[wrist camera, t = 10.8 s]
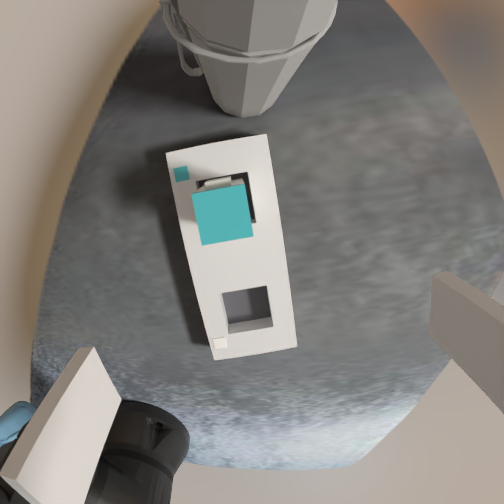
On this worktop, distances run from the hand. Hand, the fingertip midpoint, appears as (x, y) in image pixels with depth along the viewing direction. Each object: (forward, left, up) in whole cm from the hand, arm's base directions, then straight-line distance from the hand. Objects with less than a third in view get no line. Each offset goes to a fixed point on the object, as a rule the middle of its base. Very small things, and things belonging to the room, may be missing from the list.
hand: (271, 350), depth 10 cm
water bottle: (+1, +15, -25) cm, 29 cm away
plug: (-2, +3, -24) cm, 24 cm away
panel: (-2, -3, -24) cm, 25 cm away
